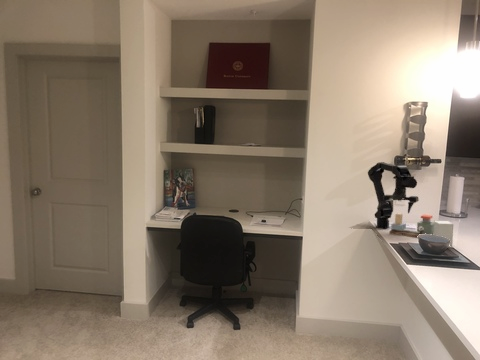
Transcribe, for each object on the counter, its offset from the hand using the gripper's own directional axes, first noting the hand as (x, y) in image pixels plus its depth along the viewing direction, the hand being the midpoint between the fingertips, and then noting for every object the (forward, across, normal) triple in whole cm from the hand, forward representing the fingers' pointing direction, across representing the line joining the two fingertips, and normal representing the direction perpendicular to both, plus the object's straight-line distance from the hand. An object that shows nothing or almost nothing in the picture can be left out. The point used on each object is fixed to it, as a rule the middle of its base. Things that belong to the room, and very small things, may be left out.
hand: (400, 212), depth 220 cm
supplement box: (+14, +25, -11) cm, 31 cm away
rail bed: (+13, +4, 0) cm, 13 cm away
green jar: (+13, +11, +12) cm, 21 cm away
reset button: (+9, +12, +12) cm, 19 cm away
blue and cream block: (+10, -1, +1) cm, 10 cm away
